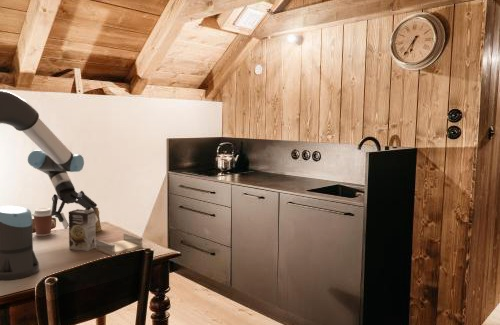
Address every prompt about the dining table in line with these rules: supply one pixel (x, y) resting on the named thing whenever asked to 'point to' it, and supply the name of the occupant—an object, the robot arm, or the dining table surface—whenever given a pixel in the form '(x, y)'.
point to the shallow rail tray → (120, 245)
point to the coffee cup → (43, 221)
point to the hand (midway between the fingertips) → (82, 224)
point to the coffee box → (82, 229)
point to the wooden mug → (98, 227)
